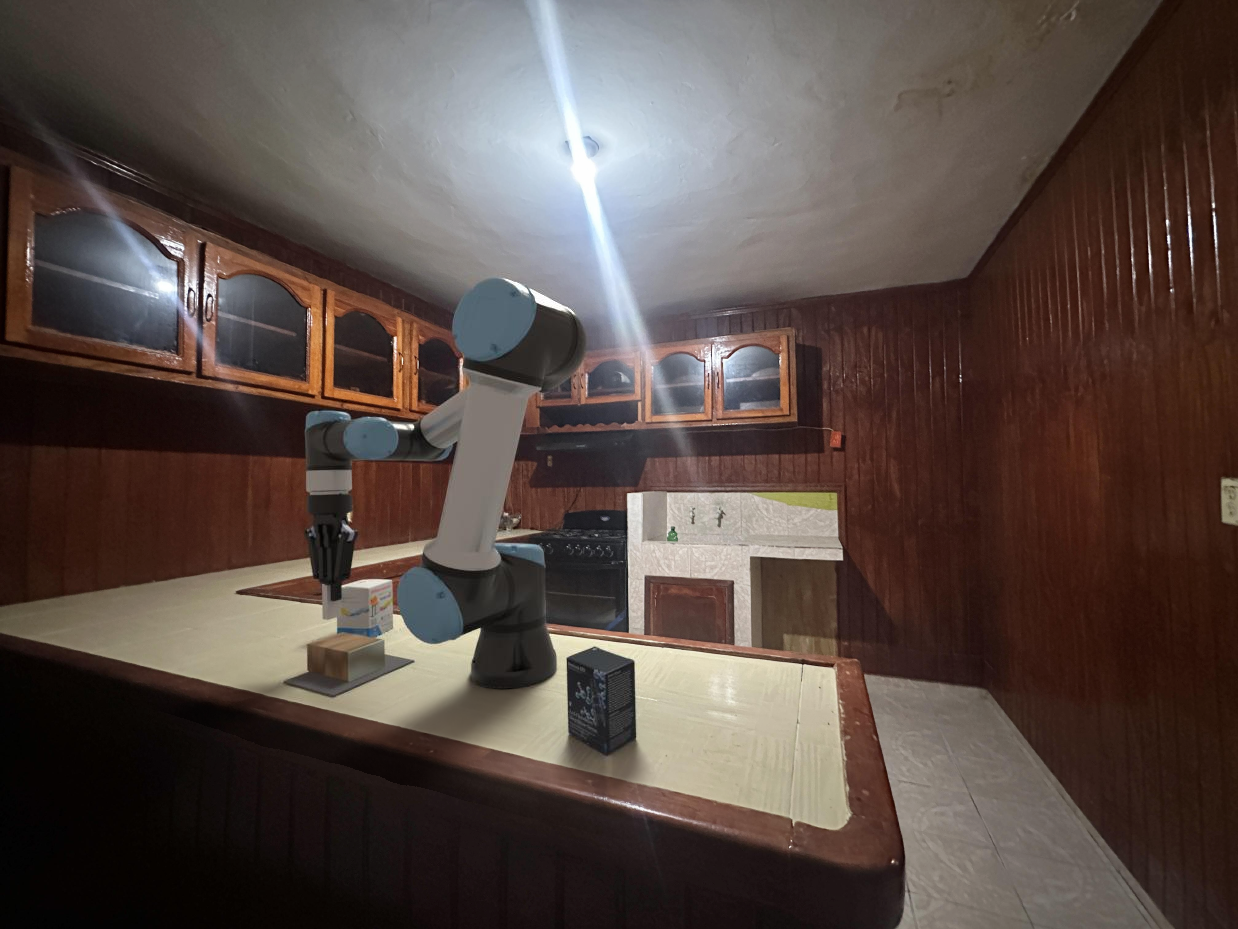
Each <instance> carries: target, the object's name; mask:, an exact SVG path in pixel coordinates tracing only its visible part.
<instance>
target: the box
mask: <svg viewBox="0 0 1238 929" xmlns="http://www.w3.org/2000/svg"><path fill="white" fill-rule="evenodd" d="M565 659H566V660H565V661H566V685H567V686H566V693H567V694H566V696H567V697H566V698H567V699H566V700H567V730H568V731H567V732H568V734H569V735H570V736H573V738H574V737H575V738H576V739H578V740H579V741H581V742H584V743H585V744H587V745H588V746H590V747H592V748H594V750H595V749H596V750H597V751H599V752H600V753H602V754H604V755H605V756H610V755H612V754H613V753H615V752H616V751H618V750H620V749H623V747H625V746H626V745H629V744H630V743H632V742H633V741H634V740H636V739H637V709H636V702H637V701H636V671H635V668H636V666H635V664H636V663H635V662H636V661H635V660H634V659H633V658H628V657H625V656H622V655H619V654H616V653H613V652H610V651H607V650H605V649H603V648H600V647H598V646H596V645H595V646H592V647H590V648H588V649H585V650H582V651H579V652H576V653H574V654H571V655H569V656H567V657H566V658H565Z"/></svg>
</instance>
